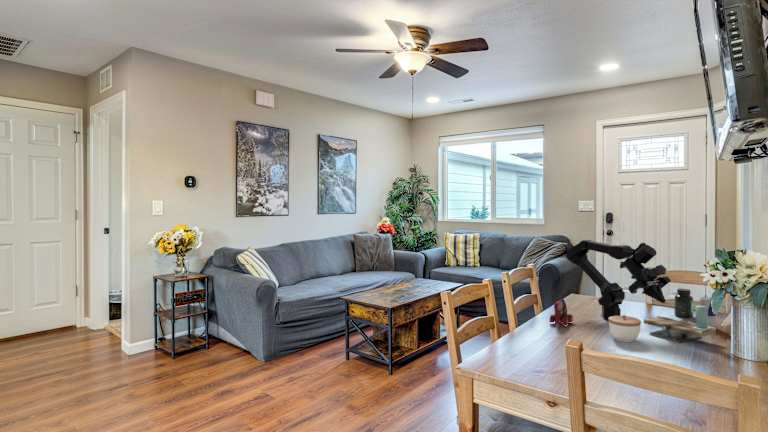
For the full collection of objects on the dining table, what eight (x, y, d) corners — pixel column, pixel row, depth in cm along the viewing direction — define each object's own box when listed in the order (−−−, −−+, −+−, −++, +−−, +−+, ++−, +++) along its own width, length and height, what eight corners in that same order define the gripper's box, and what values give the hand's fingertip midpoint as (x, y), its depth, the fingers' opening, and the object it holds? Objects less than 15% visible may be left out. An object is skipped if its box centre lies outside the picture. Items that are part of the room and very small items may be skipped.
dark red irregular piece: (574, 321, 186) (574, 298, 186) (564, 328, 177) (564, 304, 176) (558, 319, 191) (557, 296, 190) (548, 326, 181) (547, 301, 181)
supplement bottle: (697, 318, 186) (697, 291, 185) (681, 318, 186) (681, 291, 185) (686, 314, 192) (686, 287, 192) (671, 314, 193) (670, 288, 192)
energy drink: (719, 330, 169) (718, 300, 169) (703, 329, 170) (703, 299, 170) (711, 326, 174) (711, 297, 174) (696, 325, 175) (696, 296, 175)
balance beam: (643, 323, 170) (643, 318, 170) (658, 320, 174) (658, 315, 174) (700, 336, 151) (700, 331, 151) (715, 332, 155) (715, 328, 155)
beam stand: (649, 334, 166) (649, 321, 166) (672, 329, 172) (672, 316, 171) (678, 343, 156) (678, 328, 156) (702, 337, 162) (702, 323, 161)
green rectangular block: (691, 330, 155) (690, 306, 155) (701, 327, 158) (701, 304, 158) (701, 332, 152) (701, 308, 152) (712, 330, 155) (712, 306, 154)
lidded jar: (643, 345, 155) (643, 319, 154) (610, 342, 158) (610, 317, 158) (637, 336, 165) (637, 312, 164) (606, 334, 168) (606, 310, 168)
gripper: (635, 260, 167) (663, 293, 158) (666, 256, 175) (694, 288, 165) (617, 277, 175) (643, 309, 165) (647, 272, 183) (673, 303, 173)
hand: (664, 302), depth 167 cm, fingers closed
